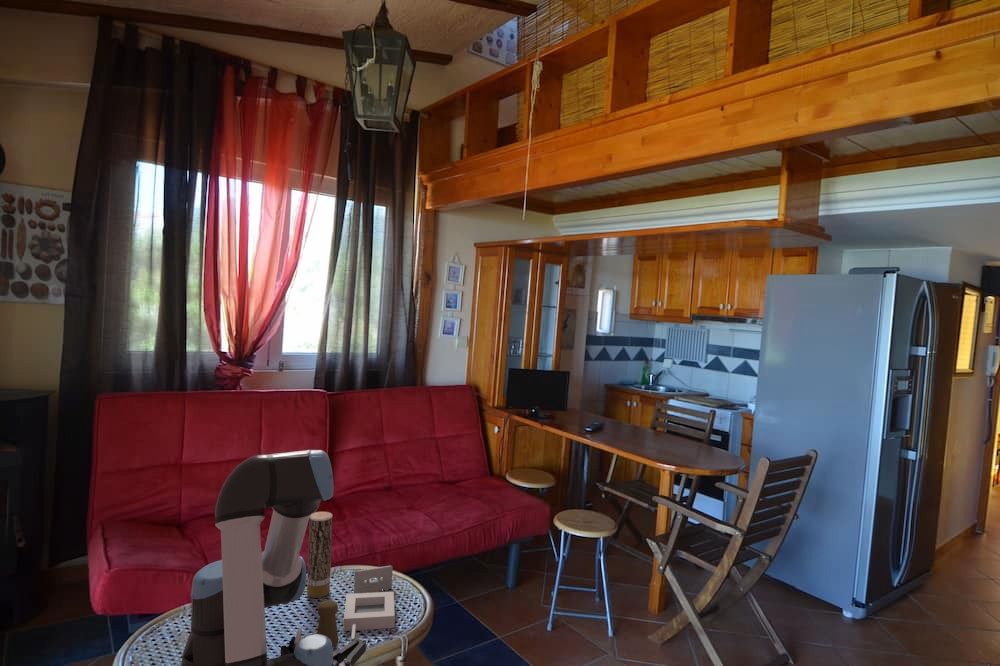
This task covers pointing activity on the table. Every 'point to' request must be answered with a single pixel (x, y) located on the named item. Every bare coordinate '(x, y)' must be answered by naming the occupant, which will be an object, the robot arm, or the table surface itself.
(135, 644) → the table surface
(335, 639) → the cork
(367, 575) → the cassette
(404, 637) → the table surface
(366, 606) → the socket block
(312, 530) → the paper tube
